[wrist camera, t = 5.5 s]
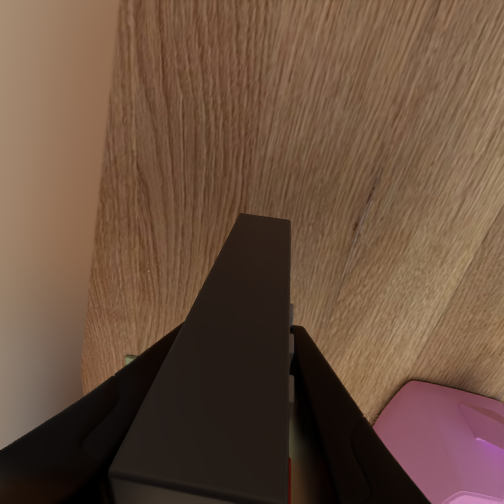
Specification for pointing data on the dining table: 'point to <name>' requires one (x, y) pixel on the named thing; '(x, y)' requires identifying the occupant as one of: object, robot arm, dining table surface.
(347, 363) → the dining table surface
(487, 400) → the teapot
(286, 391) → the dark grey rectangular prism
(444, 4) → the dining table surface
